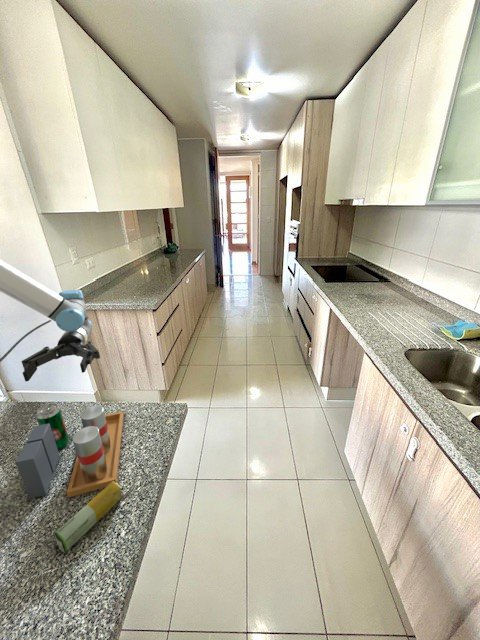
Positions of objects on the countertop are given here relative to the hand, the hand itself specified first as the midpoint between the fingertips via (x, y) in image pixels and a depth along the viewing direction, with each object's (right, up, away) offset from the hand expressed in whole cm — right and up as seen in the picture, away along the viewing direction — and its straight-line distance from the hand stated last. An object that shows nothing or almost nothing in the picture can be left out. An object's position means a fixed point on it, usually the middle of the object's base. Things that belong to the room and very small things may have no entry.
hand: (54, 372), depth 72 cm
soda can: (+3, -19, -3) cm, 19 cm away
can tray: (+15, -20, -4) cm, 25 cm away
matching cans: (+16, -20, -8) cm, 27 cm away
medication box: (+22, -26, -20) cm, 40 cm away
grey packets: (+6, -22, -11) cm, 26 cm away
